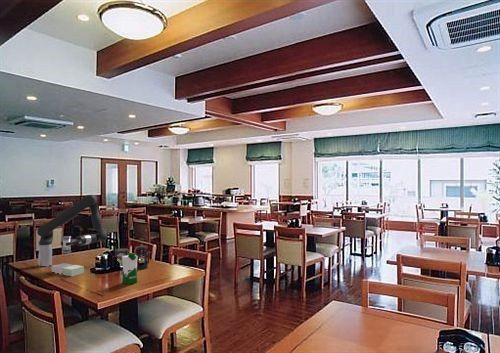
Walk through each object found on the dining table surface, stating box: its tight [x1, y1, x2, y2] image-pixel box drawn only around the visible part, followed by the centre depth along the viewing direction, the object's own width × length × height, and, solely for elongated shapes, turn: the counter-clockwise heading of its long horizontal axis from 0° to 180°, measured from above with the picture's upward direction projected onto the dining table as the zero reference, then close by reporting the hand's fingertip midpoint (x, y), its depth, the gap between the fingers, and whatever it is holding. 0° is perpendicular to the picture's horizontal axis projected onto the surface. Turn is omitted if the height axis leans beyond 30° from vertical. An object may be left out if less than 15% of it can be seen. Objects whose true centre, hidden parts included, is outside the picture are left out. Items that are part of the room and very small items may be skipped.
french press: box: [135, 238, 150, 271], centre depth 278 cm, size 12×9×23 cm
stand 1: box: [51, 262, 73, 275], centre depth 267 cm, size 10×10×5 cm
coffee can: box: [114, 247, 130, 266], centre depth 280 cm, size 10×10×14 cm
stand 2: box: [62, 264, 85, 277], centre depth 261 cm, size 10×10×5 cm
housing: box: [61, 235, 72, 255], centre depth 265 cm, size 6×6×12 cm
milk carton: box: [121, 252, 138, 286], centre depth 239 cm, size 9×9×20 cm
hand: (63, 244), depth 263 cm, fingers closed on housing, 5 cm apart
